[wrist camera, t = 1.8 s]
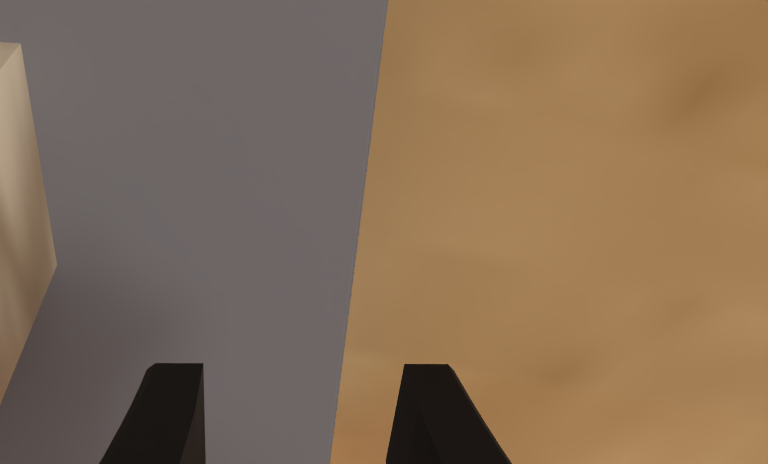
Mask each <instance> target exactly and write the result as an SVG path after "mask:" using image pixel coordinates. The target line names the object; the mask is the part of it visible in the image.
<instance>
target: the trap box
mask: <svg viewBox="0 0 768 464" xmlns="http://www.w3.org/2000/svg"><path fill="white" fill-rule="evenodd" d="M387 5H388V0H0V42H6V43H20V44H21V49H22V55H23V61H24V67H25V73H26V79H27V85H28V91H29V97H30V103H31V110H32V116H33V122H34V128H35V134H36V140H37V146H38V152H39V158H40V164H41V170H42V177H43V183H44V189H45V195H46V201H47V207H48V213H49V219H50V225H51V231H52V237H53V243H54V250H55V256H56V262H57V266H56V269H55V271H54V274H53V276H52V279H51V281H50V284H49V286H48V289H47V291H46V294H45V296H44V298H43V301H42V303H41V306H40V308H39V311H38V313H37V316H36V318H35V321H34V323H33V325H32V328H31V330H30V333H29V335H28V338H27V340H26V343H25V345H24V348H23V350H22V352H21V355H20V357H19V360H18V362H17V365H16V367H15V370H14V372H13V375H12V377H11V379H10V382H9V384H8V387H7V389H6V392H5V394H4V397H3V399H2V402H1V404H0V464H99V463H100V461H101V459H102V458H103V456H104V454H105V452H106V451H107V449H108V447H109V445H110V443H111V442H112V440H113V438H114V436H115V434H116V432H117V431H118V429H119V427H120V425H121V423H122V421H123V419H124V418H125V416H126V414H127V412H128V410H129V408H130V406H131V404H132V402H133V399H134V397H135V395H136V393H137V391H138V389H139V387H140V384H141V382H142V380H143V377H144V375H145V372H146V370H147V369H148V368H149V367H151V366H152V365H153V364H155V363H203V370H204V411H205V453H206V464H330V457H331V449H332V442H333V434H334V426H335V418H336V410H337V402H338V394H339V386H340V378H341V370H342V362H343V354H344V346H345V338H346V330H347V322H348V314H349V306H350V299H351V291H352V283H353V275H354V267H355V259H356V251H357V243H358V235H359V227H360V219H361V211H362V203H363V195H364V187H365V179H366V171H367V164H368V156H369V148H370V140H371V132H372V124H373V116H374V108H375V100H376V92H377V84H378V76H379V68H380V60H381V52H382V44H383V36H384V28H385V21H386V13H387Z"/></svg>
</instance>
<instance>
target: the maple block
mask: <svg viewBox="0 0 768 464" xmlns="http://www.w3.org/2000/svg"><path fill="white" fill-rule="evenodd" d="M56 266H57V262H56V256H55V250H54V243H53V237H52V231H51V225H50V219H49V213H48V207H47V201H46V195H45V189H44V183H43V177H42V170H41V164H40V158H39V152H38V146H37V140H36V134H35V128H34V122H33V116H32V110H31V103H30V97H29V91H28V85H27V79H26V73H25V67H24V61H23V55H22V49H21V44H20V43H6V42H0V404H1V402H2V399H3V397H4V394H5V392H6V389H7V387H8V384H9V382H10V379H11V377H12V375H13V372H14V370H15V367H16V365H17V362H18V360H19V357H20V355H21V352H22V350H23V348H24V345H25V343H26V340H27V338H28V335H29V333H30V330H31V328H32V325H33V323H34V321H35V318H36V316H37V313H38V311H39V308H40V306H41V303H42V301H43V298H44V296H45V294H46V291H47V289H48V286H49V284H50V281H51V279H52V276H53V274H54V271H55V269H56Z"/></svg>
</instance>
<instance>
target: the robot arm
mask: <svg viewBox="0 0 768 464" xmlns="http://www.w3.org/2000/svg"><path fill="white" fill-rule="evenodd" d="M99 464H206V453H205V411H204V370H203V363H155V364H153V365H152V366H151V367H149V368H148V369H147V370H146V372H145V375H144V377H143V380H142V382H141V384H140V387H139V389H138V391H137V393H136V395H135V397H134V399H133V402H132V404H131V406H130V408H129V410H128V412H127V414H126V416H125V418H124V419H123V421H122V423H121V425H120V427H119V429H118V431H117V432H116V434H115V436H114V438H113V440H112V442H111V443H110V445H109V447H108V449H107V451H106V452H105V454H104V456H103V458H102V459H101V461H100V463H99ZM386 464H512V463H511V462H510V460H509V459H508V457H507V456H506V454H505V453H504V451H503V450H502V448H501V447H500V445H499V444H498V442H497V441H496V439H495V438H494V436H493V434H492V433H491V431H490V430H489V428H488V427H487V425H486V423H485V422H484V420H483V419H482V417H481V415H480V414H479V412H478V411H477V409H476V407H475V406H474V404H473V402H472V401H471V399H470V397H469V396H468V394H467V392H466V391H465V389H464V387H463V385H462V384H461V382H460V380H459V379H458V377H457V375H456V373H455V372H454V370H453V369H452V368H451V367H450V366H449V365H448V364H404V369H403V375H402V380H401V385H400V390H399V395H398V401H397V406H396V411H395V416H394V421H393V426H392V432H391V437H390V442H389V447H388V452H387V457H386Z"/></svg>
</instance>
